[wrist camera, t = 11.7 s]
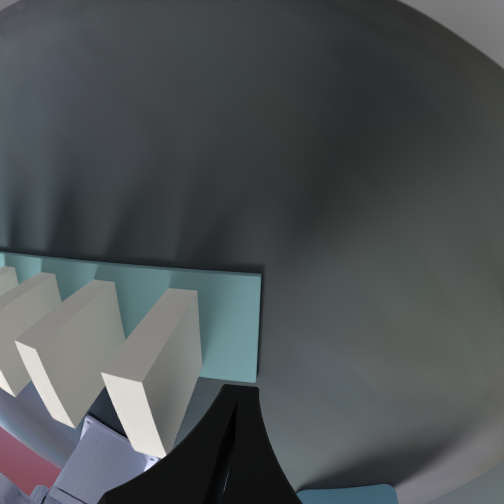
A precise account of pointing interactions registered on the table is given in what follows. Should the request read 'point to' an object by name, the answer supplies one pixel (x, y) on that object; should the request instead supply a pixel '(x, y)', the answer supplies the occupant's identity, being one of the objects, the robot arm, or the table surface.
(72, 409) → the cream domino
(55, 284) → the cream domino
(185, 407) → the cream domino
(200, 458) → the robot arm
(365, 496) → the data package
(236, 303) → the teal mat
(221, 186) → the table surface
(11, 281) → the cream domino
